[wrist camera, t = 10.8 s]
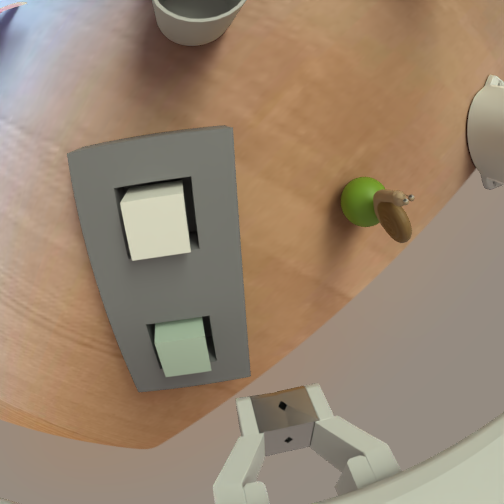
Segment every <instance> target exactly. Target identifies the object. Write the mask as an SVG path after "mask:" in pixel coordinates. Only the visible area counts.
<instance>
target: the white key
mask: <svg viewBox="0 0 504 504" xmlns="http://www.w3.org/2000/svg"><path fill="white" fill-rule="evenodd" d="M120 205H121V211H122V216H123V221H124V226H125V231H126V236H127V240H128V245H129V249H130V254H131V258H132V261H134V260H141V259H148V258H155V257H162V256H169V255H176V254H183V253H190V252H191V248H190V239H189V230H188V223H187V215H186V207H185V199H184V190H183V182H182V180H178V181H171V182H164V183H157V184H150V185H144V186H138V187H132V188H129V189H128V191H127V192H126V194H125V196H124V197H123V199H122V201H121V202H120Z"/></svg>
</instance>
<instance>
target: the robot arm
mask: <svg viewBox="0 0 504 504" xmlns="http://www.w3.org/2000/svg"><path fill="white" fill-rule="evenodd" d="M467 136H468V145H469V151H470V154H471V158H472V160H473V163H474V164H475V166H476V168H477V169H478V170H479V172H480V174H481V178H482V182H483V186H484V187H485V188H486V189H489V190H491V189H494V188H496V187H499V186H501V185H504V82H503V81H502V80H501V79H500V78H498V77H497V76H495V75H489V77H488V79H487V81H486V84H485V86H484V87H483V88H482V89H481V90H480V91H479V92H478V93H477V94H476V96H475V97H474V99H473V101H472V104H471V107H470V111H469V116H468V125H467ZM235 400H236V408H237V414H238V421H239V427H240V432H241V437H239V438H238V440H237V442H236V444H235V445H234V448H233V449H232V451H231V453H230V455H229V457H228V459H227V461H226V463H225V465H224V467H223V468H222V471H221V472H220V474H219V476H218V478H217V480H216V482H215V483H214V485H213V492H214V499H215V504H270V502H269V498H268V494H267V491H266V487H265V484H264V483H262V482H260V481H258V482H256V479H257V477H258V474H259V471H260V469H261V467H262V464H263V462H264V459H265V456H269V455H273V454H277V453H282V452H286V451H292V450H296V449H301V448H305V447H310V448H311V449H313V450H314V451H315V452H316V453H317V454H319V455H320V456H321V457H323V458H324V459H325V460H326V461H328V462H329V463H330V464H332V465H333V466H334V467H335V468H337V469H338V470H339V471H341V472H342V474H341V476H340V478H339V480H338V482H337V484H336V486H335V489H336V491H337V494H338V496H336V497H333V498H330V499H327V500H323V501H319V502H316V503H312V504H504V412H503V413H502V414H500V415H499V416H498V417H496V418H495V419H494V420H492V421H490V422H489V423H488V424H486V425H485V426H483V427H482V428H480V429H479V430H477V431H476V432H474V433H472V434H471V435H469V436H468V437H466V438H464V439H463V440H461V441H459V442H458V443H456V444H454V445H453V446H451V447H449V448H447V449H446V450H444V451H442V452H440V453H438V454H437V455H435V456H433V457H431V458H429V459H427V460H425V461H423V462H421V463H419V464H417V465H415V466H413V467H411V468H408V469H406V470H404V471H401V469H400V467H399V465H398V463H397V461H396V459H395V458H394V456H393V454H392V452H391V450H390V448H389V446H388V445H387V444H386V443H384V442H382V441H380V440H379V439H377V438H375V437H373V436H372V435H370V434H368V433H366V432H365V431H363V430H361V429H360V428H358V427H356V426H354V425H353V424H351V423H349V422H347V421H346V420H344V419H343V418H341V417H339V416H335V417H334V415H333V413H332V411H331V409H330V407H329V404H328V402H327V400H326V398H325V396H324V394H323V392H322V389H321V387H320V385H319V384H318V383H314V384H311V385H306V386H300V387H296V388H291V389H287V390H282V391H277V392H275V393H269V394H262V395H256V396H250V397H249V396H248V397H242V398H236V399H235ZM0 504H19V503H16V502H13V501H10V500H7V499H4V498H0Z"/></svg>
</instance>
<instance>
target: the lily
mask: <svg viewBox="0 0 504 504" xmlns="http://www.w3.org/2000/svg"><path fill="white" fill-rule="evenodd" d="M24 4H27V2H21V3H20V2H17V3H13V4H10V5H7V6H5V7H2V8H0V13H2V12H3V11H5V10H8V9H11V8H14V7H18V6H21V5H24Z"/></svg>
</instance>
